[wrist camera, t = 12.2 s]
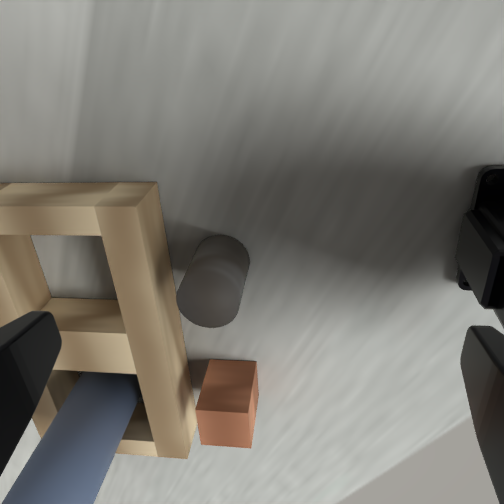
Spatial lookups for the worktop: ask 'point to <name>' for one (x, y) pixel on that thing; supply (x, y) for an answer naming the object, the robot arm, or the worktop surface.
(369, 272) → the worktop surface
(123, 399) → the blue-grey cylinder
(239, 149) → the worktop surface
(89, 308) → the socket board
